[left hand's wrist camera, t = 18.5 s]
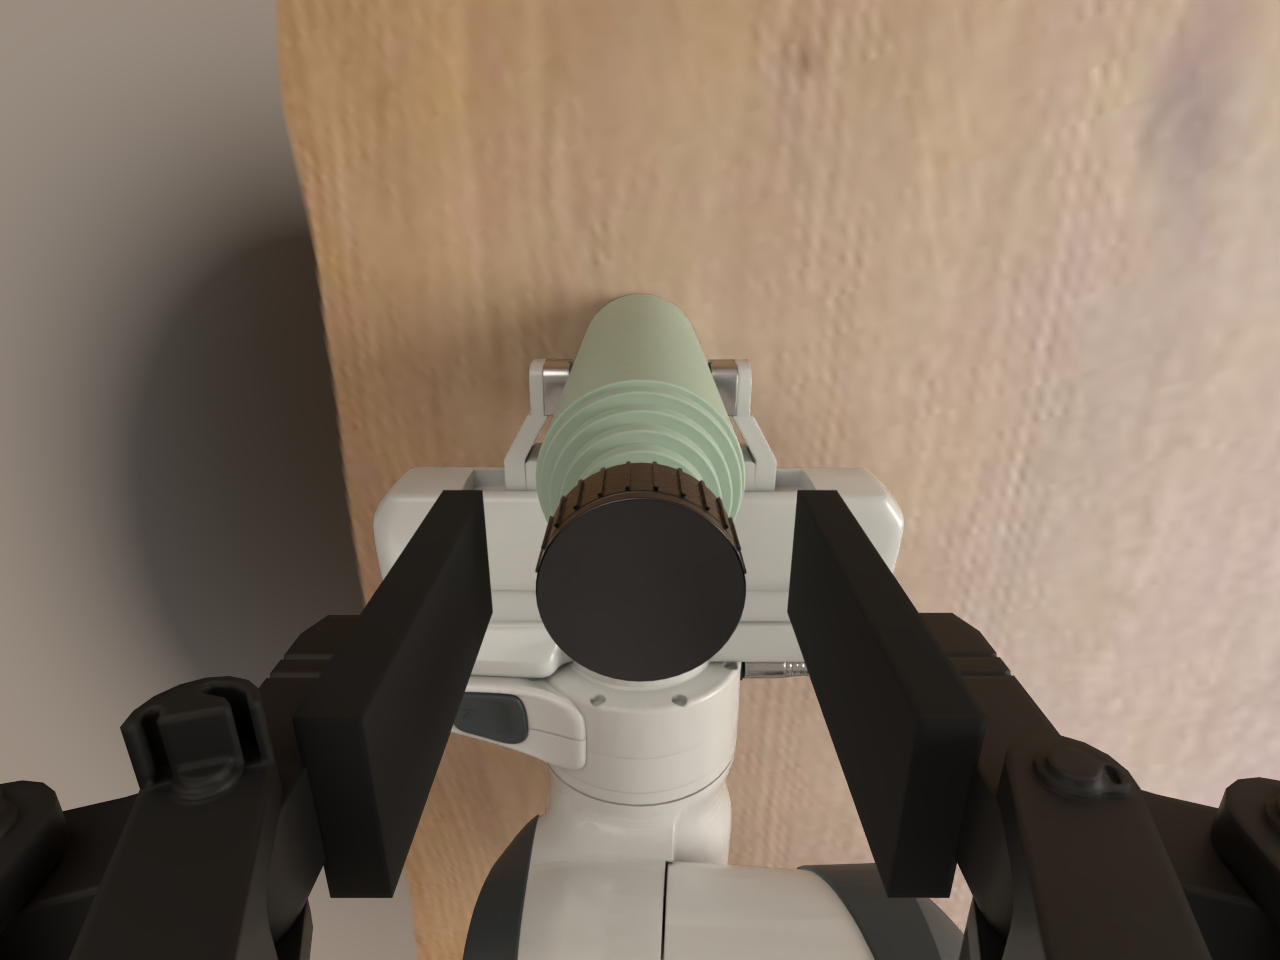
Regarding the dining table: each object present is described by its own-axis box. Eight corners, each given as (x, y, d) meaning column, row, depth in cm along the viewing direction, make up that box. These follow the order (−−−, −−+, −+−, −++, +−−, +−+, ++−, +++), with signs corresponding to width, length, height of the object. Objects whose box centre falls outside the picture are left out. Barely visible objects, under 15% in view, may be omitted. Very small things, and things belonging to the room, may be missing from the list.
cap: (776, 549, 15) (793, 596, 13) (640, 662, 16) (640, 719, 14) (641, 418, 14) (642, 450, 12) (505, 548, 15) (487, 594, 13)
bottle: (595, 417, 34) (537, 714, 14) (571, 305, 32) (466, 475, 13) (706, 397, 33) (796, 674, 14) (687, 283, 32) (763, 422, 12)
